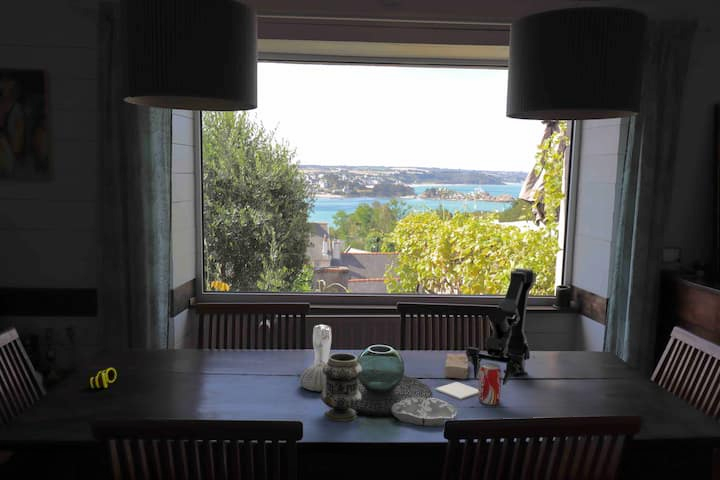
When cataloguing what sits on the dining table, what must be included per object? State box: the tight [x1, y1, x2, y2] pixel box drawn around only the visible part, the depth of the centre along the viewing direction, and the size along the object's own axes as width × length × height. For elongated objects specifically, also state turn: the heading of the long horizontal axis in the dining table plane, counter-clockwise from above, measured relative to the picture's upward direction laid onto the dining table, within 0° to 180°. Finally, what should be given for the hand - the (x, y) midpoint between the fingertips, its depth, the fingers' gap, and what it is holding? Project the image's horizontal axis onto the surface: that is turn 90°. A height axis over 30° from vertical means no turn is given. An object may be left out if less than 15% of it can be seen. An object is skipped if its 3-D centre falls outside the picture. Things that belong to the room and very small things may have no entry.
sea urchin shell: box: [299, 363, 326, 392], centre depth 195 cm, size 13×14×8 cm
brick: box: [444, 353, 470, 380], centre depth 216 cm, size 17×8×5 cm, turn 168°
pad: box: [434, 381, 478, 401], centre depth 195 cm, size 11×11×1 cm
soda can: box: [477, 362, 502, 406], centre depth 185 cm, size 7×7×12 cm
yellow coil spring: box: [89, 367, 117, 389], centre depth 193 cm, size 10×5×5 cm, turn 2°
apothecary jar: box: [320, 352, 363, 422], centre depth 172 cm, size 12×12×18 cm
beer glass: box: [312, 324, 332, 364], centre depth 217 cm, size 7×7×15 cm
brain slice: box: [391, 396, 458, 427], centre depth 173 cm, size 20×17×3 cm
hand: (489, 381), depth 184 cm, fingers open, 9 cm apart
